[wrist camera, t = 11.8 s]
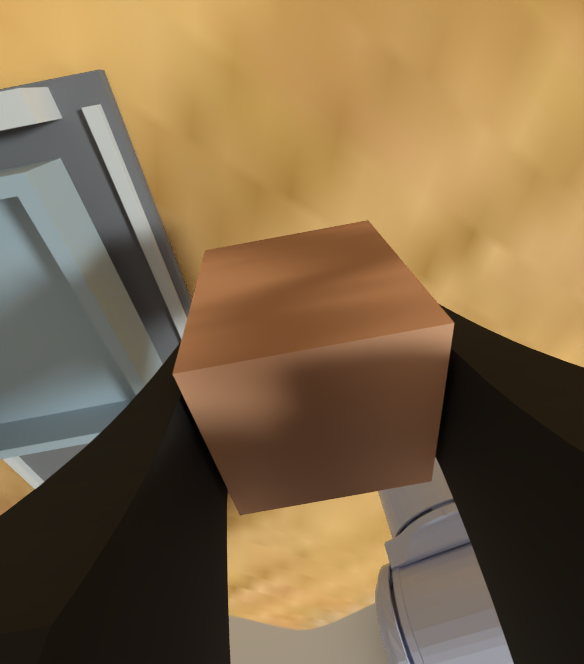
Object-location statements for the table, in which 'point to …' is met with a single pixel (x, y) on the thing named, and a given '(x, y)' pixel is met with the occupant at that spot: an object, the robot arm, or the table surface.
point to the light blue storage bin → (61, 318)
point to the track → (97, 206)
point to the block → (314, 367)
